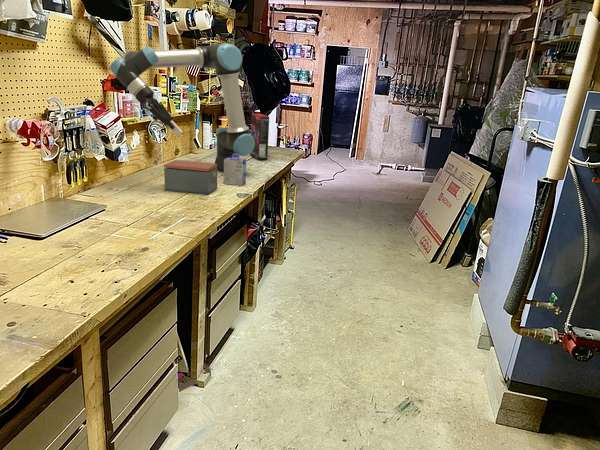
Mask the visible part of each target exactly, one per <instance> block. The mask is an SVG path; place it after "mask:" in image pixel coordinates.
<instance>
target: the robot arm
mask: <svg viewBox="0 0 600 450" xmlns="http://www.w3.org/2000/svg"><path fill="white" fill-rule="evenodd" d="M242 63H243V55H242V52H241V50H240V48H238V47H237V46H236V45H234V44H232V43H217V44H216V43H215V44H209V45H206V46H196V47H195V48H194V49H191V48H190V49H164V50H163V49H161V50H160V49H159V50H158V49H157V50H155V49H153V48H152V47H150V46H149V45H147V46H145V47H143V48H141V49H140V50H129V51H127V52H125V54H124V55H123V57H119V58H116V59H115V60H113V61H112V62H111V64H110V66H109V69H110V71H111V73H112V74H113V75H114V77H115V78H116V79H117V80H119V82H120V83H121V84H122V85H123V86H124V87H125V89H127V90H128V91H129V94H131V95H132V96H133V97H134V98H135V99H136V101H137V102H138V103H139V104H141V105H145V106H144V108H145V109H146V110H147V111H149V113H151V114H152V115H153V116H154V117H155V118H156V119H157V120H158V121H159V122H161V123H162V124H163V126H167V127H168V128H169V129H170V130H171V131H172V133H174V135H175V136H177V137H179V136H180V135H181V134H182V133H183V130H182V129H181V128H180V127H179V126H178V125H177V123H175V122H174V121H173V120H174V119H175V118H174V117H173V116H172V115H171V113H170V112H169V111H168V110H167V108H166V107H165V105H164V104H163V102H162V101H159V100H158V99H156V98H155V97H154V95H155V92H154V91H153V89H151V87H150V86H148V84H147V83H146V82H145V81H144V80H143V78H142V77H140V76H141V75H142V74H144V72H147V70H149V69H156V68H177V67H178V68H180V67H198V68H201V69H203V68H206V69H212V70H213V69H214V70H215V72H216V73H215V74H216V77H218V78H219V79H220V85H221V88H222V89H221V91H222V95H223V102H224V106H225V113H226V117H227V125H228V127H218V128H217V129H216V157H215V160H214V163H215V164H217V172H220V173H221V172H223V173H224V159H226V158H232V155H233V153H234V154H240V156H242V157H245V156H250V153H251V152H252V151H253V149H254V146H255V140H254V138H253V137H252V136H251V131H250V128H249V126H247V124H246V120H245V114H244V109H243V108H244V107H243V101H242V94H241V89H240V82H239V75H240V74H241V65H242ZM234 157H238V156H237V155H234Z"/></svg>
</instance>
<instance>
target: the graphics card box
mask: <svg viewBox="0 0 600 450" xmlns="http://www.w3.org/2000/svg"><path fill="white" fill-rule="evenodd" d="M250 122H251V125H250V135H251V136H252V137H253V138H254V140H255V146H254V149H253V151H252V152H251V153H250V154H249V156H251V157H252V158H254V159H256V160H259V161H261V160H262V161H263V160H265V161H267V160H268V153H269V136H270V135H269V134H270V132H269V131H270V116H269V115H265V114H262V113H252V114H251V121H250Z"/></svg>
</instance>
